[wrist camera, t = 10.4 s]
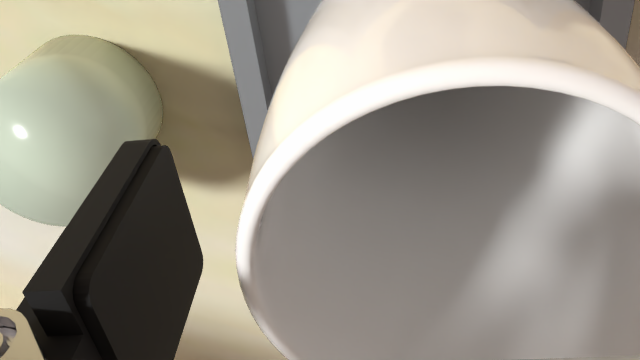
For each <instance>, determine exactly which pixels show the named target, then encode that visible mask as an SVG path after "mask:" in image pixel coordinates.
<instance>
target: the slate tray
mask: <svg viewBox="0 0 640 360" xmlns="http://www.w3.org/2000/svg"><path fill="white" fill-rule="evenodd" d="M575 1H577V2H578V3H579V4H580V5H581V6H582V7H583V8H584V9H585V10H587V11H588V12H589V13H590V14H591V15H592V16H593V17H594V18H595V19H596V20H598V21H599V22H600V24H601V25H602V26H603V27H604V28H605V29H606V30H607V31H608V32H609V33H610V34H611V35H612V36H613V37H614V38H615V39H616V40H617V41H618V42H619V44H620V45H621V46H622V47H623V48H624V49H626V44H627V39H628V33H629V28H630V23H631V18H632V12H633V7H634V2H635V0H575ZM319 2H320V0H218V3H219V8H220V12H221V17H222V21H223V26H224V30H225V35H226V39H227V44H228V48H229V53H230V57H231V62H232V66H233V71H234V75H235V80H236V84H237V89H238V93H239V98H240V102H241V107H242V111H243V116H244V120H245V125H246V129H247V134H248V138H249V143H250V147H251V152H252V156H253V159H254V155H255V151H256V147H257V144H258V140H259V137H260V133H261V130H262V127H263V124H264V120H265V117H266V114H267V111H268V108H269V105H270V102H271V99H272V97H273V94H274V91H275V88H276V86H277V83H278V81H279V78H280V76H281V74H282V71H283V69H284V67H285V65H286V63H287V60H288V58H289V56H290V54H291V52H292V50H293V48H294V46H295V44H296V42H297V40H298V39H299V37H300V35H301V33H302V31H303V30H304V28H305V26H306V24H307V23H308V21H309V19H310V17H311V16H312V14H313V12H314V10H315V9H316V7H317V5H318V4H319Z"/></svg>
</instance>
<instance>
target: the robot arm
mask: <svg viewBox="0 0 640 360" xmlns="http://www.w3.org/2000/svg"><path fill="white" fill-rule="evenodd" d="M202 269H203V255H202V251H201V248H200V244H199V241H198V238H197V235H196V232H195V228H194V225H193V222H192V219H191V215H190V212H189V209H188V206H187V202H186V199H185V196H184V193H183V189H182V186H181V183H180V180H179V177H178V173H177V170H176V167H175V164H174V160H173V157H172V154H171V151H170V149H169V148H168V146H166V145H165V146H161V145H160V143H159V142H158V141H157V140H156V139H146V140H134V141H125V142H124V143H123V144H122V145H121V147H120V148H119V150H118V151H117V152H116V154H115V155H114V157H113V158H112V160H111V161H110V163H109V164H108V166H107V167H106V169H105V170H104V172H103V173H102V175H101V176H100V178H99V179H98V181H97V182H96V184H95V185H94V187H93V188H92V190H91V191H90V193H89V194H88V196H87V197H86V198H85V200H84V201H83V203H82V204H81V206H80V207H79V209H78V210H77V212H76V213H75V215H74V216H73V218H72V219H71V221H70V222H69V224H68V225H67V227H66V228H65V230H64V231H63V233H62V234H61V236H60V237H59V239H58V240H57V242H56V243H55V244H54V246H53V247H52V249H51V250H50V252H49V253H48V255H47V256H46V258H45V259H44V261H43V262H42V264H41V265H40V267H39V268H38V270H37V271H36V273H35V274H34V276H33V277H32V279H31V280H30V282H29V283H28V285H27V286H26V288H25V289H24V290H23V294H24V296H25V298H24V299H23V301H22V302H21V304H20V305H19V307H18V308H17V310H13V309H4V308H0V360H174V357H175V354H176V351H177V348H178V345H179V341H180V338H181V335H182V332H183V329H184V326H185V323H186V320H187V317H188V314H189V310H190V307H191V304H192V301H193V298H194V295H195V292H196V289H197V286H198V283H199V280H200V276H201V273H202ZM518 360H640V355H638V356H605V357H575V358H547V359H518Z"/></svg>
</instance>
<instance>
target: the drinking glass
mask: <svg viewBox="0 0 640 360" xmlns="http://www.w3.org/2000/svg"><path fill="white" fill-rule="evenodd" d="M236 266H237V273H238V278H239V283H240V287H241V290H242V293H243V296H244V299H245V302H246V304H247V306H248V308H249V310H250V312H251V314H252V316H253V318H254V320H255V321H256V323H257V324H258V326H259V328H260V329H261V331H262V332H263V333H264V334H265V336H266V337H267V338H268V340H269V341H270V342H271V343H272V344H273V345H274V346H275V348H276V349H277V350H278V351H279V352H280V353H281V354H282V355H283V356H284V357H286V358H287V359H288V360H518V359H547V358H575V357H605V356H638V355H640V67H639V65H638V64H637V63H636V62H635V61H634V59H633V58H632V57H631V56H630V55H629V54H628V53H627V51H626V50H625V49H624V48H623V47H622V46H621V45H620V44H619V42H618V41H617V40H616V39H615V38H614V37H613V36H612V35H611V34H610V33H609V32H608V31H607V30H606V29H605V28H604V27H603V26H602V25H601V24H600V22H599V21H598V20H596V19H595V18H594V17H593V16H592V15H591V14H590V13H589V12H588V11H587V10H585V9H584V8H583V7H582V6H581V5H580V4H579V3H578V2H577V1H575V0H320V2H319V4H318V5H317V7H316V9H315V10H314V12H313V14H312V16H311V17H310V19H309V21H308V23H307V24H306V26H305V28H304V30H303V31H302V33H301V35H300V37H299V39H298V40H297V42H296V44H295V46H294V48H293V50H292V52H291V54H290V56H289V58H288V60H287V63H286V65H285V67H284V69H283V71H282V74H281V76H280V78H279V81H278V83H277V86H276V88H275V91H274V94H273V97H272V99H271V102H270V105H269V108H268V111H267V114H266V117H265V120H264V124H263V127H262V130H261V133H260V137H259V140H258V144H257V147H256V151H255V155H254V159H253V163H252V167H251V172H250V176H249V181H248V185H247V190H246V194H245V199H244V203H243V207H242V210H241V213H240V218H239V223H238V228H237V235H236Z"/></svg>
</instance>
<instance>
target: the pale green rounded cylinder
mask: <svg viewBox="0 0 640 360" xmlns="http://www.w3.org/2000/svg"><path fill="white" fill-rule="evenodd" d="M162 118H163V109H162V102H161V98H160V94H159V92H158V89H157V87H156V85H155V83H154V81H153V79H152V78H151V76H150V75H149V73H148V72H147V71H146V70H145V68H144V67H143V66H142V65H141V64H140V63H139V62H138V61H137V60H136V59H135V58H134V57H133V56H131V55H130V54H129V53H127V52H126V51H125V50H123V49H121V48H120V47H118V46H116V45H114V44H112V43H110V42H108V41H105V40H102V39H100V38H96V37H92V36H86V35H66V36H61V37H58V38H55V39H52V40H50V41H48V42H46V43H45V44H43V45H42V46H41V47H39V48H38V49H37V50H36V51H34V52H33V53H32V54H31V55H29V56H28V57H27V58H26V59H24V60H23V61H22V62H20V63H19V64H18V65H17V66H15V67H14V68H13V69H12V70H10V71H9V72H8V73H6V74H5V75H4V76H3V77H1V78H0V204H1V205H2V206H4V207H5V208H7V209H9V210H10V211H12V212H14V213H16V214H18V215H20V216H22V217H24V218H27V219H29V220H32V221H36V222H39V223H43V224H47V225H53V226H67V225H68V224H69V222H70V221H71V219H72V218H73V216H74V215H75V213H76V212H77V210H78V209H79V207H80V206H81V204H82V203H83V201H84V200H85V198H86V197H87V196H88V194H89V193H90V191H91V190H92V188H93V187H94V185H95V184H96V182H97V181H98V179H99V178H100V176H101V175H102V173H103V172H104V170H105V169H106V167H107V166H108V164H109V163H110V161H111V160H112V158H113V157H114V155H115V154H116V152H117V151H118V150H119V148H120V147H121V145H122V144H123V143H124V142H125V141H134V140H146V139H155V138H156V137H157V135H158V133H159V131H160V128H161V124H162Z"/></svg>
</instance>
